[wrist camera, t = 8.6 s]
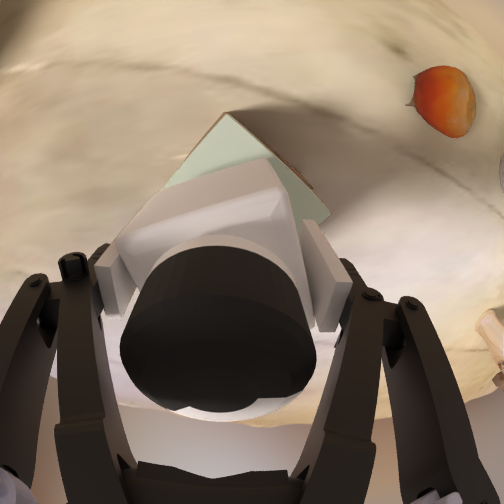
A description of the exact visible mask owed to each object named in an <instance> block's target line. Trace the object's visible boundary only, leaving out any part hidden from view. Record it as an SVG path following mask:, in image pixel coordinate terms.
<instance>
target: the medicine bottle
mask: <svg viewBox="0 0 504 504" xmlns="http://www.w3.org/2000/svg"><path fill="white" fill-rule="evenodd" d="M115 245H116V248H117V250H118V252H119V254H120V256H121V258H122V260H123V262H124V264H125V266H126V268H127V269H128V271H129V273H130V275H131V277H132V279H133V280H134V282H135V284H136V286H137V288H138V289H139V291H140V294H139V296H138V299H137V301H136V303H135V305H134V308H133V310H132V312H131V315H130V317H129V319H128V322H127V324H126V327H125V329H124V332H123V334H122V337H121V341H120V356H121V360H122V363H123V365H124V367H125V369H126V372H127V373H128V375H129V377H130V379H131V380H132V382H133V383H134V385H135V386H136V387H137V388H138V389H139V390H140V391H141V392H142V393H143V394H144V395H145V396H146V397H148V398H149V399H150V400H152V401H153V402H155V403H156V404H158V405H160V406H162V407H164V408H166V409H168V410H170V411H172V412H175V413H178V414H181V415H184V416H187V417H191V418H195V419H200V420H206V421H217V422H228V421H239V420H247V419H252V418H256V417H260V416H263V415H266V414H269V413H272V412H274V411H276V410H278V409H280V408H282V407H284V406H285V405H287V404H289V403H290V402H291V401H293V400H294V399H295V398H296V397H297V396H298V395H299V394H300V393H301V392H302V391H303V389H304V388H305V386H306V385H307V384H308V382H309V380H310V379H311V377H312V375H313V373H314V370H315V367H316V360H317V359H316V350H315V346H314V343H313V339H312V336H311V332H310V329H312V328H313V327H314V326H315V316H314V311H313V306H312V300H311V295H310V290H309V285H308V280H307V275H306V271H305V266H304V261H303V256H302V252H301V247H300V243H299V238H298V234H297V229H296V225H295V221H294V216H293V212H292V208H291V204H290V200H289V196H288V193H287V191H286V189H285V187H284V186H283V184H282V182H281V181H280V179H279V177H278V176H277V174H276V172H275V171H274V169H273V167H272V166H271V164H270V163H269V161H268V160H267V159H266V158H260V159H256V160H253V161H249V162H246V163H242V164H239V165H235V166H232V167H228V168H225V169H222V170H219V171H215V172H212V173H209V174H206V175H203V176H200V177H197V178H194V179H191V180H188V181H185V182H182V183H179V184H176V185H173V186H170V187H167V188H165V189H162V190H159V191H158V192H156V193H155V195H154V196H153V197H152V198H151V199H150V200H149V201H148V202H147V203H146V204H145V206H144V207H143V208H142V209H141V210H140V211H139V212H138V213H137V215H136V216H135V217H134V218H133V219H132V220H131V222H130V223H129V224H128V225H127V226H126V227H125V229H124V230H123V231H122V232H121V233H120V235H119V236H118V237H117V239H116V243H115Z"/></svg>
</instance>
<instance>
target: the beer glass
mask: <svg viewBox="0 0 504 504" xmlns="http://www.w3.org/2000/svg"><path fill="white" fill-rule="evenodd" d="M475 331H476V332H477V333H478V334H479V335H480V336H481V337H482V338H483V339H484V340H485V342H486V344H487V346H488V348H489V350H490V352H491V355H492V357H493V359H494V361H495V363H496V364H497V366H498V367H499V369H500V370H501V371H502V373H503V374H504V325H503V324H502V323H501V322H500V320H499V319H498V317H497V316H496V314H495V312H494V311H493V310H492V309H490V310H488V311H486V312H485V313H484V314H483V315H482V316H481V317H480V318H479V319H478V321H477V323H476V325H475Z"/></svg>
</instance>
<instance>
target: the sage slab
mask: <svg viewBox="0 0 504 504" xmlns="http://www.w3.org/2000/svg"><path fill="white" fill-rule="evenodd" d="M260 158H266V159H267V160H268V161H269V163H270V164H271V166H272V167H273V169H274V171H275V172H276V174H277V176H278V177H279V179H280V181H281V182H282V184H283V186H284V187H285V189H286V191H287V193H288V196H289V200H290V204H291V208H292V212H293V216H294V221H295V225H296V229H297V234H298V238H299V235H300V229H301V224H302V219H309V220H315V221H316V223H317V225H318V226H319V225H320V224H321V223H322V222H323V221H324V220H325V219H326V218H327V217H328V216H329V215H330V214H331V212H330V211H329V209H328V208H327V207H326V206H325V205H324V204H323V202H322V201H321V200H320V199H319V198H318V197H317V195H316V194H315V193H314V192H313V191H312V190H311V189H310V188H309V187H308V186H307V185H306V184H305V183H304V182H303V181H302V180H301V179H300V178H299V177H298V176H297V175H296V174H295V173H294V172H293V171H292V170H291V169H290V168H289V167H288V166H287V165H285V164H284V163H283V162H282V161H281V160H280V159H279V158H278V157H277V156H276V155H275V154H274V153H273V152H272V151H271V150H270V149H268V148H267V147H266V146H265V145H264V144H263V143H262V142H261V141H260V140H259V139H257V138H256V137H255V136H254V135H253V134H252V133H251V132H250V131H248V130H247V129H246V128H245V127H244V126H243V125H242V124H240V123H239V122H238V121H237V120H236V119H235V118H233V117H232V116H231V115H230V114H226V115H225V116H224V117H223V118H222V119H221V120H220V121H219V122H218V124H217V125H216V126H215V127H214V128H213V129H212V130H211V131H210V132H209V133H208V135H207V136H206V137H205V138H204V139H203V140H202V141H201V142H200V144H199V145H198V146H197V147H196V148H195V149H194V151H193V152H192V153H191V154H190V155H189V156H188V158H187V159H186V160H185V161H184V162H183V164H182V165H181V166H180V167H179V169H178V170H177V171H176V172H175V174H174V175H173V176H172V177H171V179H170V180H169V181H168V182H167V184H166V185H165V186H164V187H163V189H165V188H167V187H170V186H173V185H176V184H179V183H182V182H185V181H188V180H191V179H194V178H197V177H200V176H203V175H206V174H209V173H212V172H215V171H219V170H222V169H225V168H228V167H232V166H235V165H239V164H242V163H246V162H249V161H253V160H256V159H260Z"/></svg>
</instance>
